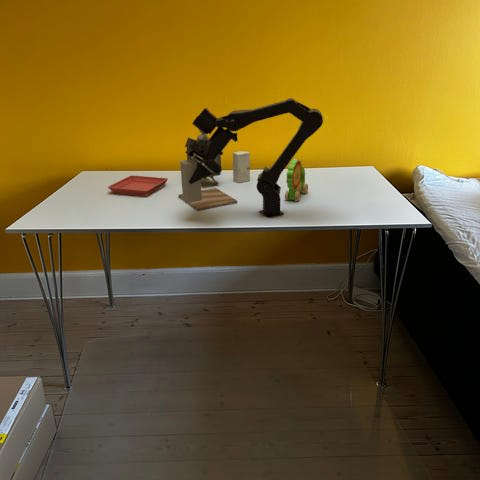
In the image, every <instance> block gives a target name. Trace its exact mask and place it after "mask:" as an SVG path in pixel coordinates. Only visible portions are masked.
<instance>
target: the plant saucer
mask: <svg viewBox="0 0 480 480" xmlns="http://www.w3.org/2000/svg"><path fill="white" fill-rule="evenodd" d="M167 182H168V177H167V178H166V177H156V176H145V175H143V176H142V175H134V174H133V175H132V174H131V175H128V176H127V177H125V178H122V179H120V180H119V181H116V182H114V183H113V184H111V185H108V186H107V189H109V190H110V191H111V192H113V194H119V195H128V194H129V195H131V196H138V197H139V196H140V197H147V196H149V195H150V194H152V193H154V192H155V191H157V190H159V189H161V188H162V187H164V185H166V183H167ZM129 195H128V196H129Z"/></svg>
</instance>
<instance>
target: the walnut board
mask: <svg viewBox="0 0 480 480" xmlns="http://www.w3.org/2000/svg"><path fill="white" fill-rule="evenodd" d="M201 191H202V200H201V201H196V202H190V203H188V202H186V201H185V200H184V199H183V193H181V194H178V198H179V199H181V201H183V202H184V203H186V204H187V205H188V206H190V207H191V208H192V209H194V210H195V211H197V212H199V211H205V210H208V209H214V208H218V207H225V206H229V205H234V204H238V200H237V199H235V198H234V197H232V196H230V195H229V194H227V193H225V192H224V191H222V190H221V189H219V188H217V187H212V188H206V189H201Z"/></svg>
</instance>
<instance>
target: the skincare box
mask: <svg viewBox="0 0 480 480" xmlns="http://www.w3.org/2000/svg"><path fill="white" fill-rule="evenodd" d="M250 156H251V155H250V152H249V151H245V150H243V151H237V152H236V151H235V152H232V176H233V177H232V178H233V179H232V180H233V182H235V183H237V184H240V183H245V182H249V181H250V180H251V173H250V172H251V169H250V168H251V165H250V164H251V162H250V161H251V160H250V159H251V158H250Z"/></svg>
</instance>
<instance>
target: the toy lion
mask: <svg viewBox="0 0 480 480" xmlns="http://www.w3.org/2000/svg"><path fill="white" fill-rule="evenodd" d="M287 166H288V167H287V172H286V185H287V188H288V190H286V191H285V192H284V200H285V201H290V200H294V201H295V202H299V201H300V200H301V192H302V194H307V193H308V191H309V184H308V183H306V171H305V167H304V166H303V164H302V161H301V159H298V158H292V159H291V161H290V162H289V164H288V165H287Z"/></svg>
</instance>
